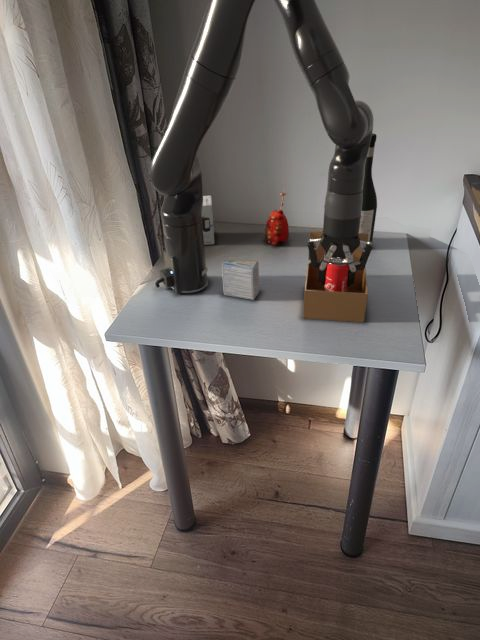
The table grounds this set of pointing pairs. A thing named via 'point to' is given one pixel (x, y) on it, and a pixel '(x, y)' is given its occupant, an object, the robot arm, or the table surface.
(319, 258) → the flap
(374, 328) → the table surface
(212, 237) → the ink box
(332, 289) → the beverage can
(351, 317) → the carton
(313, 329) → the table surface
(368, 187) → the wine bottle
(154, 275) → the table surface
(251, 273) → the medicine box
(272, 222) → the red rounded body
